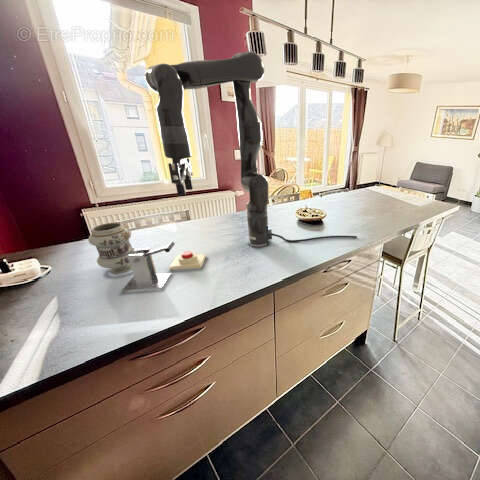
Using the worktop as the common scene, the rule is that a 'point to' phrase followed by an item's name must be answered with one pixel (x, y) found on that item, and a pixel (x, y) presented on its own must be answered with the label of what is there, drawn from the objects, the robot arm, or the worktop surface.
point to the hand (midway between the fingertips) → (186, 192)
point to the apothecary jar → (112, 246)
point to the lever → (158, 250)
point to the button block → (188, 261)
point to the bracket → (144, 272)
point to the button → (187, 254)
